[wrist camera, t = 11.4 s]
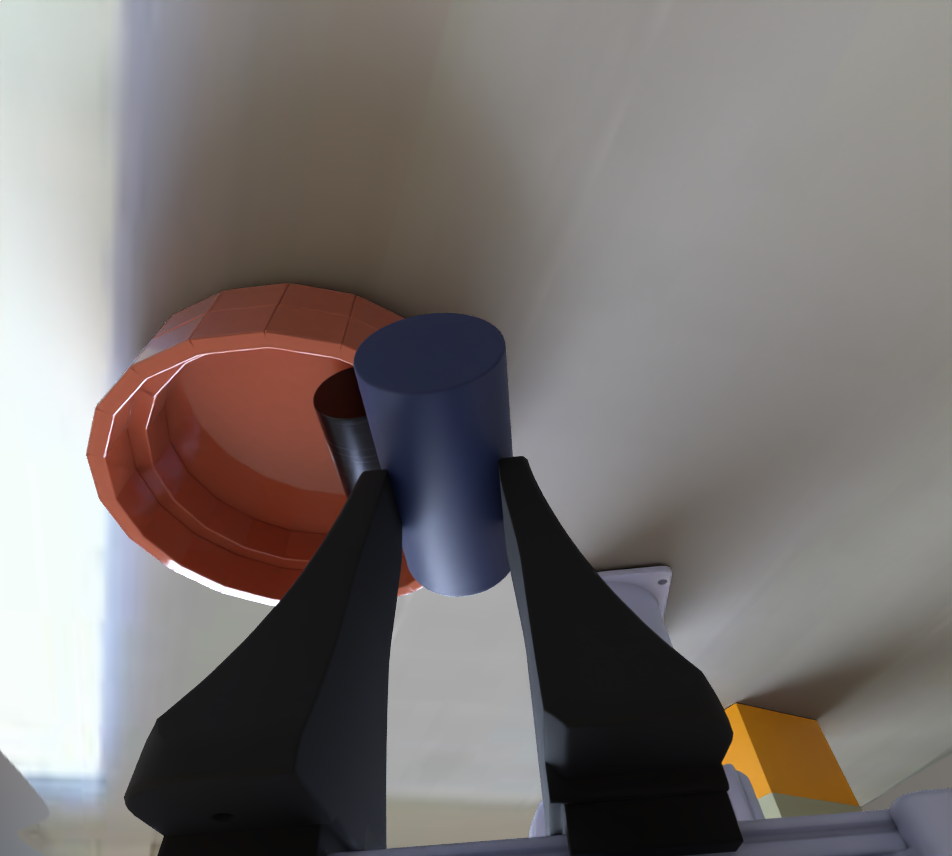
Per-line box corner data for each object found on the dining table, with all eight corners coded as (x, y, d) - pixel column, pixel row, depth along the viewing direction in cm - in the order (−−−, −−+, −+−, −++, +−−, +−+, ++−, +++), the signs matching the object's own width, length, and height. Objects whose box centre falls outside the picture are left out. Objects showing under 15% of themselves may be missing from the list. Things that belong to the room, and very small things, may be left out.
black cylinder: (415, 481, 26) (449, 527, 23) (347, 512, 25) (375, 564, 22) (385, 353, 21) (423, 394, 19) (300, 384, 20) (329, 432, 18)
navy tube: (536, 573, 16) (422, 614, 15) (494, 494, 18) (395, 526, 18) (530, 366, 11) (368, 410, 11) (476, 300, 14) (342, 332, 13)
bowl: (494, 525, 28) (501, 593, 25) (220, 552, 28) (193, 622, 25) (463, 255, 19) (467, 308, 16) (64, 300, 19) (-8, 360, 16)
